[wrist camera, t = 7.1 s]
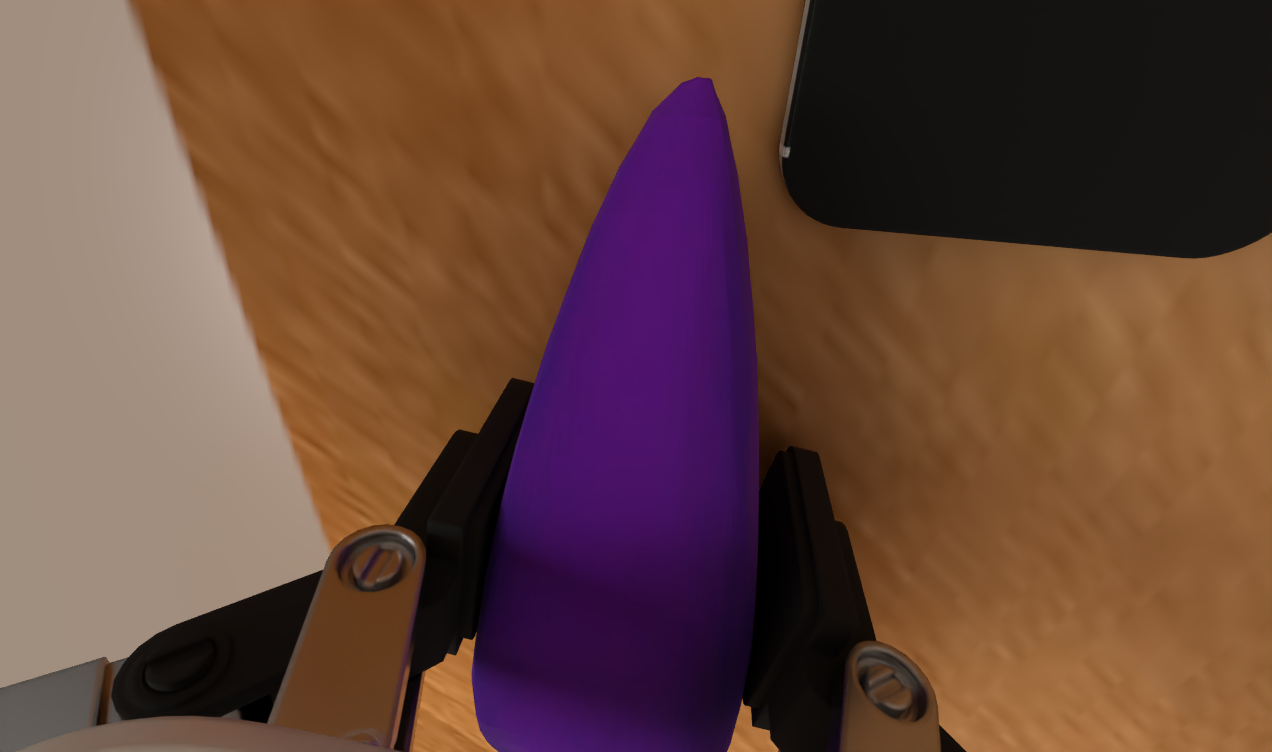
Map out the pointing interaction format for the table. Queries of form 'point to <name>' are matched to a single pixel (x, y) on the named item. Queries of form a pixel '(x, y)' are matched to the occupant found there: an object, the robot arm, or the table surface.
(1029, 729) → the table surface
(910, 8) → the smartphone
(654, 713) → the purple eggplant
